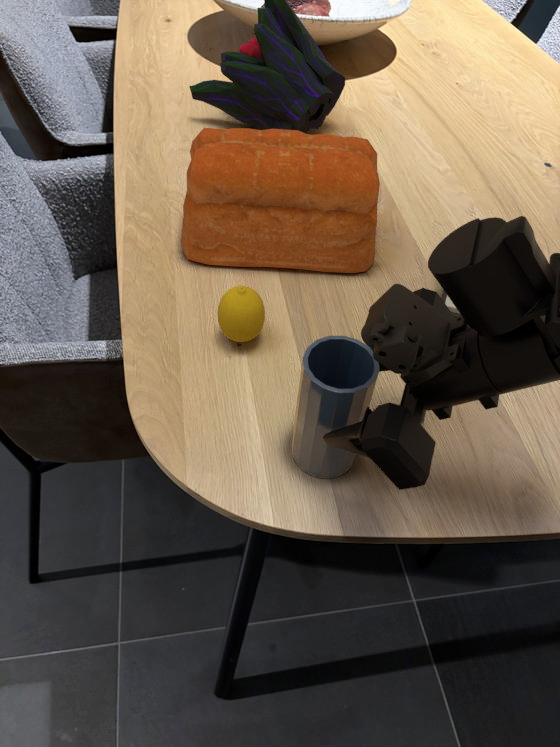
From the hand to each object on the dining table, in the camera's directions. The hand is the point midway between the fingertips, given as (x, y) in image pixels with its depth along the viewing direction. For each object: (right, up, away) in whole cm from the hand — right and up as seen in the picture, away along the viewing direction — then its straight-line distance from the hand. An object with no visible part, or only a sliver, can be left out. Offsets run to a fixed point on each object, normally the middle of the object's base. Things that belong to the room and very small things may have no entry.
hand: (339, 402), depth 57 cm
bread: (-6, +22, +30) cm, 37 cm away
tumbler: (-1, -5, +7) cm, 9 cm away
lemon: (-10, +7, +17) cm, 21 cm away
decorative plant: (-9, +49, +53) cm, 73 cm away
